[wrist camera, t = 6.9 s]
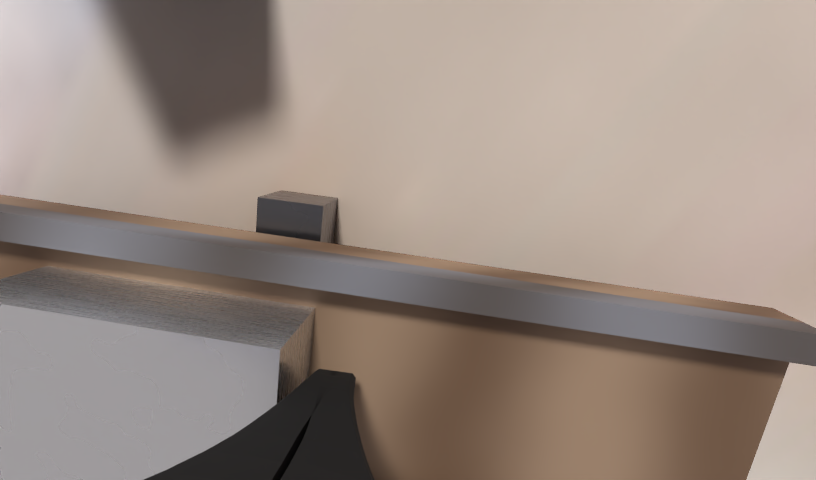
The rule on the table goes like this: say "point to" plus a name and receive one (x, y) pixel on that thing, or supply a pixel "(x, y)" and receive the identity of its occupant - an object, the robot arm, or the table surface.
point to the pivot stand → (297, 216)
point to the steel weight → (134, 372)
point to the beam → (472, 349)
